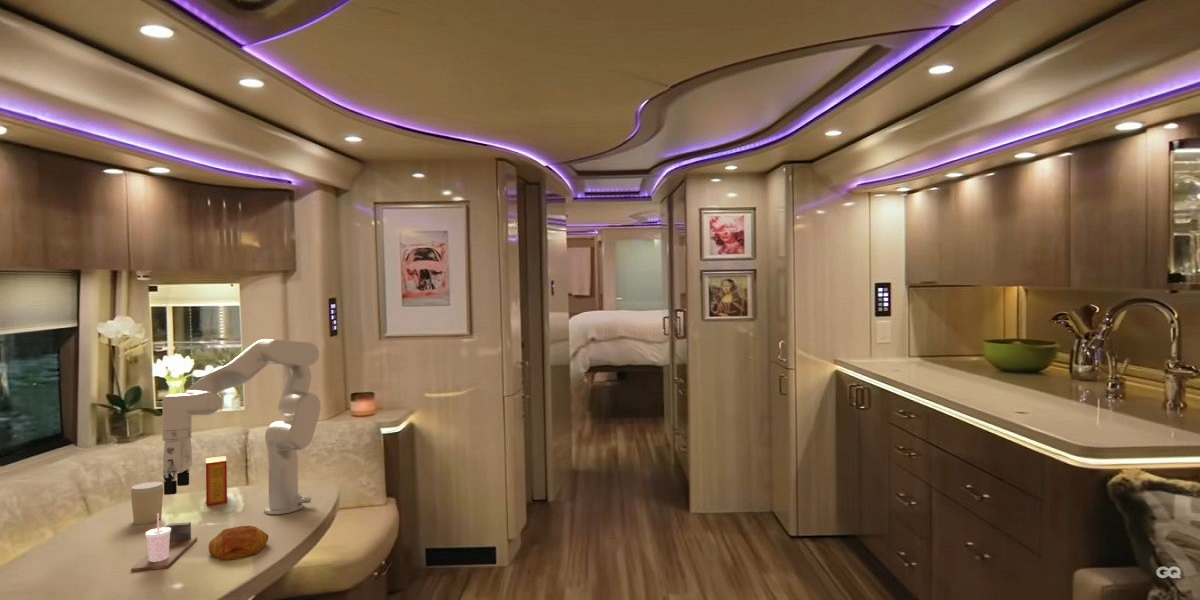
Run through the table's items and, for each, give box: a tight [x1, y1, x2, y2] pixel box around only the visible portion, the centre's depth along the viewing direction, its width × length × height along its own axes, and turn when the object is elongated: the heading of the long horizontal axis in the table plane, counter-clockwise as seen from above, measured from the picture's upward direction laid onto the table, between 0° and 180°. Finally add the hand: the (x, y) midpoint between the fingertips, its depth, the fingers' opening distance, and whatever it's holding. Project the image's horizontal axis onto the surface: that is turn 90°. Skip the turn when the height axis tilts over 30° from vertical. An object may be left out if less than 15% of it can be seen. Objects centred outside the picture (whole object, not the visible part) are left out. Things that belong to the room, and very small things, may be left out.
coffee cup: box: [130, 481, 164, 525], centre depth 221 cm, size 9×9×12 cm
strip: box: [130, 521, 198, 572], centre depth 191 cm, size 9×22×6 cm, turn 13°
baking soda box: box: [205, 455, 228, 507], centre depth 241 cm, size 10×6×16 cm
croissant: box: [208, 525, 269, 561], centre depth 193 cm, size 14×16×8 cm
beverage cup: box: [145, 513, 171, 562], centre depth 186 cm, size 6×6×14 cm
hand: (176, 489), depth 199 cm, fingers open, 9 cm apart
